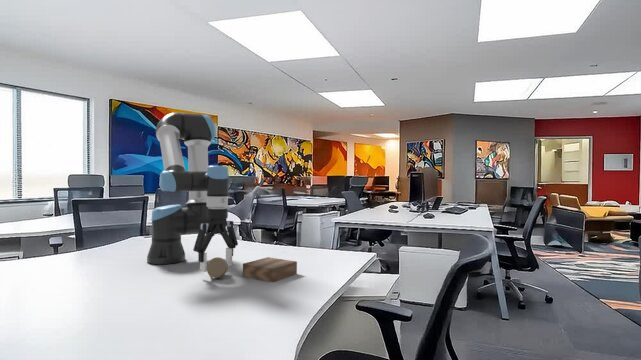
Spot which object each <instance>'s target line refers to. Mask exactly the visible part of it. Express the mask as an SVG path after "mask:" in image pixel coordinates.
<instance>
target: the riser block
mask: <svg viewBox="0 0 641 360" xmlns="http://www.w3.org/2000/svg"><path fill="white" fill-rule="evenodd" d="M297 271H298V261H297V260H296V261H295V260H289V259H282V258H276V257H275V258H274V257H269V256H268V257H264V258H259V259H256V260H251V261H249V262H248V261H247V262H244V263H242V277H244V278H249V279H254V280H259V281H264V282H267V283H268V282H270V283H274V282H278V281H280V280H283V279H287V278H289V277H292V276H295V275H297V273H298V272H297Z"/></svg>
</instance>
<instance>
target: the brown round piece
mask: <svg viewBox="0 0 641 360" xmlns="http://www.w3.org/2000/svg"><path fill="white" fill-rule="evenodd" d="M228 269H229V266H228V265H227V262H226V259H225V258H222V257H219V256H218V257H213V258H212V259H210V260H209V261H208V263H207V267H206V272H207V274H208V276H210V277H212V278H214V279H215V278H216V279H217V278H218V279H220V278H222V277H223V276H225V274H226V273H227V271H228Z"/></svg>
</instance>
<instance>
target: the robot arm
mask: <svg viewBox="0 0 641 360" xmlns="http://www.w3.org/2000/svg"><path fill="white" fill-rule="evenodd" d="M215 133H216V129H215V125H214V121H213V118H212V117H211V116H210V115H208V114H202V113H200V114H199V113H186V112H177V111H176V112H171V113H168V114H166V115H164V116H163V117H162V118H161V119H160V120H159V121H158V123H157V125H156V127H155V136H156V137H155V138H156V139H157V140H158V142H159V144H160V151H161V157H162V164H163V170H162V171H160V174H159V187H160V190H161V191H162V192H171V193H174V192H188V201H187V202H186V203H185V207H182V204H179V203H178V204H168V205H163V206H158V207H155V208H154V209H152V212H151V219H150V220H151V243H150V247H149V250H148V253H147V256H146V263H148V264H154V265H166V264H167V265H168V264H177V263H181V262H183V261H185V260H186V252H185V249H184V246H183V243H182V236H183V235H185V236H187V235H197V236H196V240H195V243H194V246H193V249H192V250H193V251H194V252H196V253H197V254H198V255H197V256H198V257H197V258H198V263H199V271H200V272H204V273H206V272H207V264H208V263H207V258H208V257H207V256H208V255H207V253H208V252H206V250H207V248H208V246H209V245H210V242H211V241H212V239H213V237H214V236H216V235H221V237H222V239H223V241H224V242H225V245H226V246H227V247H225V261H226V262H227V265H228V267H232V266H233V256H234V249H236V247H237V246H238V245H239V243H238V238H237V235H236V232H235V227H234V221H233V220H227V219H228V217H229V209H228V207H229V176H230V175H229V168H228V166H227V165H209V149H208V148H209V146H210V145H212V141H214V140H215V135H216V134H215ZM180 140H183V143H184V145H185V146H186V147H187V159H188V160H187V161H188V162H187V164H188V168H187V169H188V170H186V167H185V162H184V157H183V152H182V148H181V142H180Z"/></svg>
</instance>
